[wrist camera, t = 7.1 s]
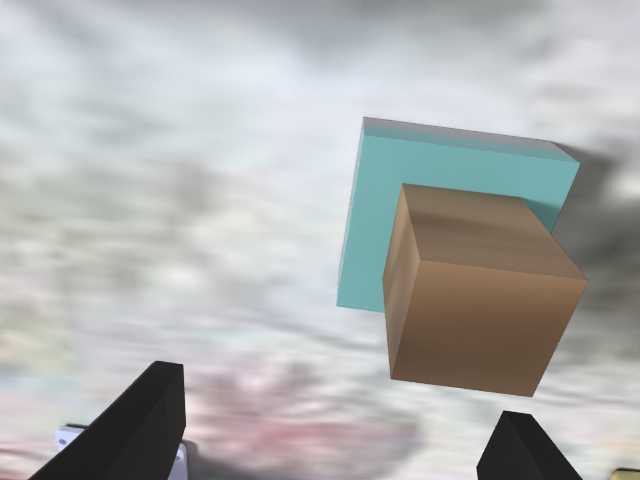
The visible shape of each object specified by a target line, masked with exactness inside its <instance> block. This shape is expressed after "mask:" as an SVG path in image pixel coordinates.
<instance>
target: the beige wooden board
mask: <svg viewBox="0 0 640 480" xmlns="http://www.w3.org/2000/svg"><path fill="white" fill-rule="evenodd" d="M609 480H640V472H631V471H615V472H614V473H613V474H612V475H611V477H610V478H609Z"/></svg>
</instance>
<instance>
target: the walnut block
mask: <svg viewBox="0 0 640 480" xmlns="http://www.w3.org/2000/svg"><path fill="white" fill-rule="evenodd" d="M588 281H589V280H588V279H587V278H586V277H585V275H584V274H583V273H582V272H581V271H580V269H579V268H578V267H577V266H576V264H575V263H574V262H573V261H572V260H571V258H570V257H569V256H568V255H567V254H566V252H565V251H564V250H563V249H562V247H561V246H560V245H559V244H558V243H557V241H556V240H555V239H554V238H553V237H552V235H551V234H550V233H549V232H548V230H547V229H546V228H545V227H544V226H543V224H542V223H541V222H540V221H539V220H538V218H537V217H536V216H535V215H534V213H533V212H532V211H531V210H530V209H529V207H528V206H527V205H526V204H525V203H524V201H523V200H522V199H521V198H520V197H516V196H508V195H499V194H491V193H482V192H474V191H466V190H457V189H449V188H440V187H432V186H423V185H415V184H407V183H402V184H401V189H400V194H399V199H398V204H397V209H396V214H395V219H394V224H393V229H392V234H391V239H390V244H389V249H388V254H387V258H386V263H385V268H384V273H383V278H382V284H383V295H384V307H385V319H386V330H387V342H388V353H389V365H390V377H391V379H393V380H401V381H409V382H416V383H424V384H432V385H440V386H448V387H455V388H463V389H471V390H479V391H487V392H494V393H502V394H510V395H518V396H526V397H533V395H534V393H535V390H536V388H537V386H538V384H539V382H540V380H541V378H542V376H543V374H544V372H545V370H546V368H547V366H548V364H549V362H550V360H551V358H552V355H553V353H554V351H555V349H556V347H557V345H558V343H559V341H560V339H561V337H562V335H563V333H564V331H565V329H566V327H567V325H568V322H569V320H570V318H571V316H572V314H573V312H574V310H575V308H576V306H577V304H578V302H579V300H580V298H581V296H582V294H583V292H584V290H585V287H586V285H587V283H588Z"/></svg>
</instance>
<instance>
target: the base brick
mask: <svg viewBox="0 0 640 480" xmlns="http://www.w3.org/2000/svg"><path fill="white" fill-rule="evenodd" d="M580 164H581V163H579V162H578V161H577V160H575V159H574V158H573V157H571V156H570V155H569V154H567V153H566V152H564V151H563V150H562V149H560V148H559V147H558V146H556V145H555V144H553V143H552V142H551V141H545V140H537V139H529V138H522V137H514V136H506V135H499V134H491V133H483V132H476V131H468V130H460V129H453V128H445V127H437V126H430V125H422V124H414V123H407V122H399V121H391V120H384V119H376V118H368V117H363V123H362V129H361V135H360V142H359V148H358V154H357V161H356V167H355V173H354V180H353V186H352V192H351V199H350V205H349V211H348V218H347V224H346V230H345V237H344V243H343V249H342V256H341V262H340V268H339V278H338V292H337V306H338V307H346V308H353V309H360V310H368V311H375V312H382V313H385V307H384V295H383V284H382V278H383V273H384V268H385V263H386V258H387V254H388V249H389V244H390V239H391V234H392V229H393V224H394V219H395V214H396V209H397V204H398V199H399V194H400V189H401V184H402V183H407V184H415V185H423V186H432V187H440V188H449V189H457V190H466V191H474V192H482V193H491V194H499V195H508V196H516V197H520V198H521V199H522V200H523V201H524V203H525V204H526V205H527V206H528V207H529V209H530V210H531V211H532V212H533V213H534V215H535V216H536V217H537V218H538V220H539V221H540V222H541V223H542V224H543V226H544V227H545V228H546V229H547V230H548V232H549V233H550V234H551V232H552V230H553V227H554V225H555V223H556V220H557V218H558V215H559V213H560V211H561V208H562V206H563V204H564V201H565V199H566V197H567V194H568V192H569V190H570V187H571V185H572V182H573V180H574V178H575V175H576V173H577V171H578V168H579V166H580Z"/></svg>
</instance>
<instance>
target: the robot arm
mask: <svg viewBox="0 0 640 480" xmlns="http://www.w3.org/2000/svg"><path fill="white" fill-rule="evenodd" d="M185 427H186V414H185V392H184V370H183V364H177V363H170V362H163V361H155V362H153V363H152V364H151V365H150V366H149V367H148V368H147V369H146V370H145V371H144V372H143V373H142V374H141V375H140V376H139V377H138V378H137V379H136V380H135V381H134V382H133V383H132V384H131V385H130V386H129V387H128V388H127V389H126V390H125V391H124V392H123V393H122V394H121V395H120V396H119V397H118V398H117V399H116V400H115V401H114V402H113V403H112V404H111V405H110V406H109V407H108V408H107V409H106V410H105V411H104V412H103V413H102V414H101V415H100V416H99V417H97V418H96V419H95V420H94V421H93V422H92V423H91V424H90V425H89V426H88V427H87V428H86V429H81V428H73V427H66V426H60V427H58V428H57V429H56V431H55V432H54V437H55V440H56V444H57V447H58V451H59V453H58V454H57V455H56V456H55V457H53V458H52V459H51V460H50V461H49V462H48V463H46V464H45V465H44V466H43V467H42V468H41V469H39V470H38V471H37V472H36V473H35V474H34V475H33V476H31V477H30V478H29V479H28V480H188V469H187V453H186V447H185V446H184V445H183V444H182V443H181V440H182V436H183V433H184V430H185ZM476 468H477V476H478V480H583V479H582V478H581V477H580V476H579V474H578V473H577V472H576V471H575V469H574V468H573V467H572V466H571V464H570V463H569V462H568V461H567V459H566V458H565V457H564V455H563V454H562V453H561V452H560V450H559V449H558V448H557V446H556V445H555V444H554V443H553V441H552V440H551V439H550V438H549V436H548V435H547V434H546V432H545V431H544V430H543V429H542V427H541V426H540V425H539V424H538V422H537V421H536V420H535V419H534V417H533V416H532V415H531V414H525V413H518V412H511V411H503V413H502V415H501V417H500V419H499V421H498V423H497V425H496V427H495V429H494V431H493V433H492V436H491V438H490V440H489V442H488V444H487V446H486V448H485V450H484V452H483V454H482V456H481V458H480V461H479V463H478V465H477V467H476Z"/></svg>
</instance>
